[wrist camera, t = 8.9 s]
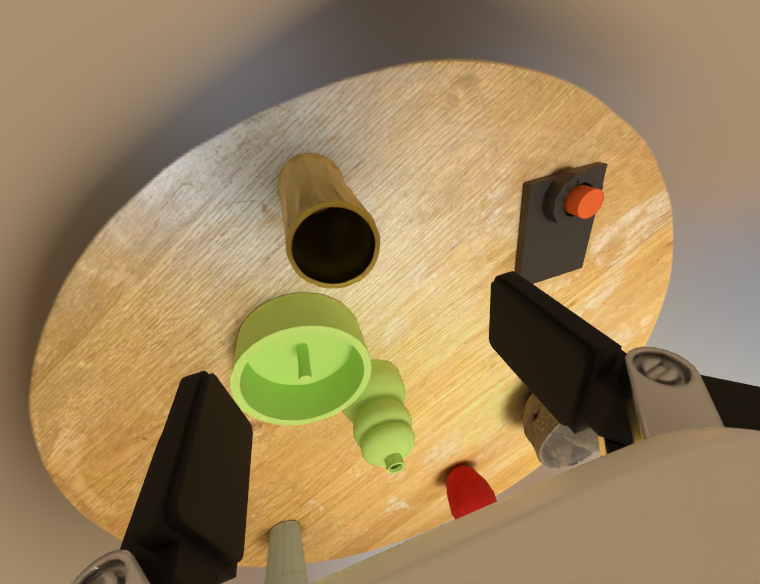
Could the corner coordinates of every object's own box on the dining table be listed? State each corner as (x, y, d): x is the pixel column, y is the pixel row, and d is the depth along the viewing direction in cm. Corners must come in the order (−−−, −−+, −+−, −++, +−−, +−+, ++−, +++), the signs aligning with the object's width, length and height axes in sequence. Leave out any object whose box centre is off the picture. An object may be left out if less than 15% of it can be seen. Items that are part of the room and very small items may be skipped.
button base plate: (524, 177, 34) (543, 183, 31) (599, 156, 35) (623, 161, 33) (513, 284, 42) (528, 295, 40) (575, 264, 43) (593, 273, 41)
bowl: (551, 340, 51) (602, 385, 43) (615, 356, 60) (668, 395, 52) (485, 420, 59) (518, 471, 51) (550, 424, 68) (587, 467, 60)
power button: (566, 188, 33) (581, 193, 31) (591, 181, 33) (607, 185, 32) (561, 216, 35) (575, 222, 33) (584, 209, 35) (600, 214, 34)
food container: (209, 353, 34) (179, 460, 24) (297, 268, 32) (306, 347, 22) (354, 422, 48) (375, 508, 38) (423, 367, 46) (465, 443, 36)
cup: (292, 512, 57) (294, 584, 49) (312, 523, 62) (317, 591, 53) (256, 530, 57) (252, 605, 49) (279, 540, 62) (278, 610, 53)
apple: (429, 475, 65) (453, 534, 56) (465, 451, 64) (495, 508, 55) (448, 486, 71) (473, 541, 62) (482, 464, 70) (512, 517, 61)
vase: (340, 223, 31) (377, 297, 19) (276, 216, 29) (275, 294, 17) (348, 159, 28) (398, 200, 16) (278, 147, 26) (278, 183, 14)
